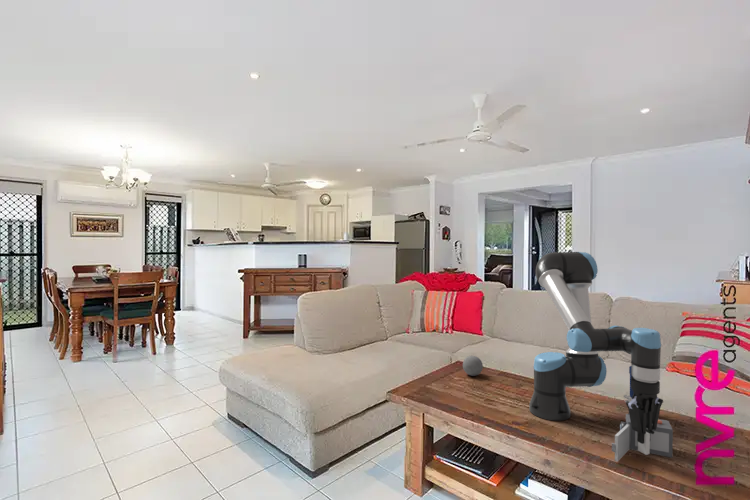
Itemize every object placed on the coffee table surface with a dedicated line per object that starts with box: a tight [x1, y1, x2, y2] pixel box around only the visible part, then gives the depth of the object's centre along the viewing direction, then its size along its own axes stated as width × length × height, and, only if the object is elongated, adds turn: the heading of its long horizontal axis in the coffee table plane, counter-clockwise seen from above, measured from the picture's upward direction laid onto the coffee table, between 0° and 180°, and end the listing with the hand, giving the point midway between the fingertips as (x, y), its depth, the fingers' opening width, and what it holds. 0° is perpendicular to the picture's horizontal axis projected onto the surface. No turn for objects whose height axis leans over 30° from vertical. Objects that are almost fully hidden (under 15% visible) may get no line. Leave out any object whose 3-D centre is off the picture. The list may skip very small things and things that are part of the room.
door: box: [611, 424, 631, 462], centre depth 127 cm, size 12×2×8 cm, turn 131°
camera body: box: [619, 413, 674, 458], centre depth 132 cm, size 14×7×10 cm, turn 63°
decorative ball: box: [462, 355, 484, 377], centre depth 203 cm, size 10×10×10 cm
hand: (643, 452), depth 125 cm, fingers closed
